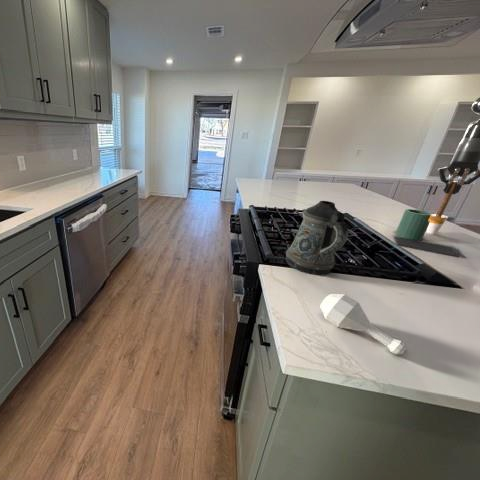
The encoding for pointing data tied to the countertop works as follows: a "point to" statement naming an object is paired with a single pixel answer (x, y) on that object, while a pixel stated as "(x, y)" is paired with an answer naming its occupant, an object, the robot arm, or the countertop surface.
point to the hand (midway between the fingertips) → (449, 193)
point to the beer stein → (318, 239)
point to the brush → (443, 206)
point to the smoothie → (434, 227)
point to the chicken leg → (355, 319)
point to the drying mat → (426, 246)
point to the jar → (413, 224)
